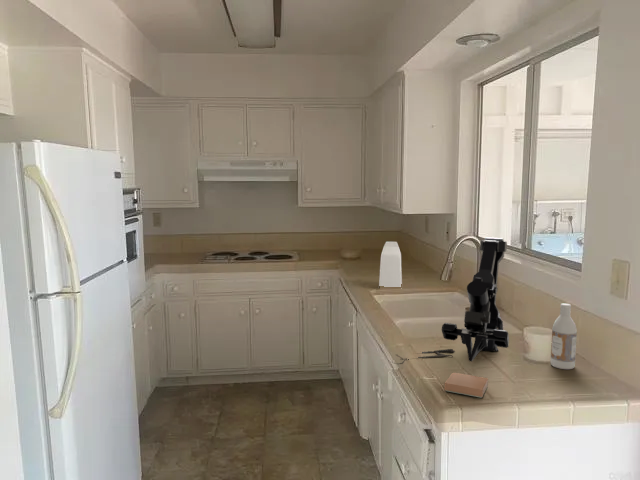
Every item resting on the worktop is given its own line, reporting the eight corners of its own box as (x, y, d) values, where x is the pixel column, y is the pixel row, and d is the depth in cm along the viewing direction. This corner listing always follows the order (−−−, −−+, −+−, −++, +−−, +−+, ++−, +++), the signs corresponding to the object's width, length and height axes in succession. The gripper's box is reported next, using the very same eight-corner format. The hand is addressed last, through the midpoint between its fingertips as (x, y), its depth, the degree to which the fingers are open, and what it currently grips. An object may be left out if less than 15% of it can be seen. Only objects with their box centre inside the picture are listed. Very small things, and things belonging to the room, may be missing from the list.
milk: (378, 289, 271) (379, 242, 268) (380, 285, 282) (381, 240, 279) (400, 290, 269) (401, 243, 266) (402, 286, 280) (402, 240, 277)
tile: (452, 372, 144) (444, 382, 135) (488, 378, 139) (482, 389, 130) (452, 380, 144) (444, 391, 135) (487, 386, 140) (482, 398, 131)
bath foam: (545, 363, 157) (548, 302, 155) (560, 360, 160) (564, 300, 158) (563, 371, 151) (567, 307, 149) (579, 368, 154) (583, 305, 152)
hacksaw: (453, 352, 170) (453, 348, 170) (465, 359, 160) (465, 355, 160) (385, 357, 167) (385, 353, 167) (393, 365, 157) (393, 360, 157)
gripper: (443, 296, 148) (433, 342, 140) (509, 303, 140) (503, 352, 131) (448, 316, 156) (439, 360, 147) (511, 323, 147) (505, 371, 139)
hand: (470, 360), depth 141 cm, fingers closed
